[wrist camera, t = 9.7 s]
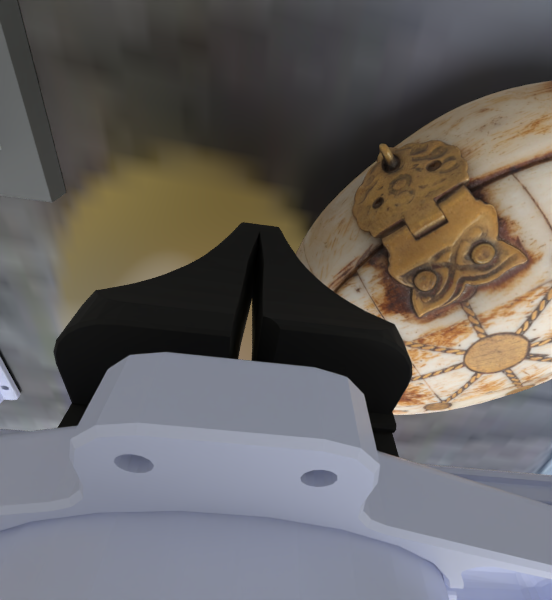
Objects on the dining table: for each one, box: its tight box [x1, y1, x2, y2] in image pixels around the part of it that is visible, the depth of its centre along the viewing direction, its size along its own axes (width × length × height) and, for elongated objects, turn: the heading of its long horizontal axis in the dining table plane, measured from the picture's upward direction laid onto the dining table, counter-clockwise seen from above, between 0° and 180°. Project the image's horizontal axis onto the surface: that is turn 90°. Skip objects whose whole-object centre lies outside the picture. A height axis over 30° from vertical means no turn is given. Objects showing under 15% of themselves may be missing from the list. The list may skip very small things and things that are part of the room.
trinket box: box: [296, 81, 552, 415], centre depth 14 cm, size 13×15×8 cm
